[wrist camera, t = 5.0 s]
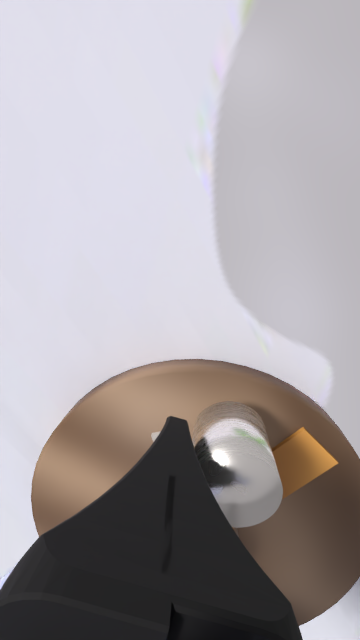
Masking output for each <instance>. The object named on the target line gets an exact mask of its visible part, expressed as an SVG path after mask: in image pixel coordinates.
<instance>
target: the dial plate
mask: <svg viewBox="0 0 360 640" xmlns="http://www.w3.org/2000/svg"><path fill="white" fill-rule="evenodd" d="M224 401H233V402H239V403H242V404H245V405H247V406H249V407H250V408H252V409H253V410H255V411H256V412H257V413H258V415H259V416H260V417H261V419H262V421H263V423H264V426H265V429H266V433H267V436H268V439H269V443H270V446H271V449H272V453H273V456H274V459H275V463H276V466H277V469H278V473H279V476H280V479H281V483H282V487H283V496H282V501H281V503H280V506H279V507H278V509H277V510H276V512H275V513H274V514H273V515H272V516H271V517H269V518H268V519H267V520H265V521H263V522H261V523H259V524H256V525H253V526H249V527H242V528H237V529H238V537H239V539H240V540H241V542H242V543H243V545H244V546H245V547H246V549H247V550H248V551H249V553H250V554H251V555H252V557H253V558H254V559H255V561H256V562H257V563H258V565H259V566H260V567H261V569H262V570H263V571H264V572H265V573H266V575H267V576H268V577H269V578H270V579H271V580H272V582H273V583H274V584H275V585H276V586H277V587H278V589H279V590H280V591H281V592H282V593H283V594H284V596H285V597H286V598H287V599H288V600H289V602H290V603H291V605H292V608H293V611H294V614H295V617H296V620H297V623H298V626H300V625H302V624H304V623H307V622H308V621H310V620H312V619H313V618H315V617H317V616H319V615H320V614H322V613H324V612H325V611H326V610H328V609H329V608H330V607H332V606H333V605H334V604H336V603H337V602H338V601H339V600H340V599H341V598H342V597H343V596H344V595H345V594H346V593H347V592H348V591H349V590H350V589H351V588H352V586H353V585H354V584H355V582H356V581H357V580H358V578H359V577H360V459H359V457H358V455H357V454H356V452H355V451H354V449H353V447H352V446H351V445H350V443H349V442H348V440H347V439H346V437H345V436H344V434H343V433H342V431H341V430H340V429H339V427H338V426H337V425H336V424H335V422H334V421H333V420H332V419H331V418H330V417H329V415H328V414H327V413H326V412H325V411H324V410H323V409H322V408H321V407H319V406H318V405H317V404H316V403H315V402H314V401H313V400H311V399H310V398H309V397H308V396H306V395H305V394H303V393H302V392H300V391H299V390H297V389H296V388H294V387H293V386H291V385H290V384H288V383H286V382H284V381H281V380H279V379H277V378H275V377H273V376H271V375H269V374H267V373H264V372H261V371H258V370H255V369H252V368H249V367H246V366H242V365H237V364H233V363H228V362H223V361H214V360H203V359H185V360H170V361H164V362H157V363H151V364H148V365H144V366H141V367H137V368H134V369H130V370H128V371H126V372H123V373H121V374H119V375H117V376H114V377H112V378H110V379H108V380H107V381H105V382H104V383H102V384H100V385H99V386H97V387H95V388H94V389H92V390H91V391H90V392H89V393H88V394H86V395H85V396H84V397H83V398H82V399H80V400H79V401H78V402H77V403H76V405H75V406H74V407H73V408H72V409H71V410H70V411H69V413H68V414H67V415H66V416H65V417H64V419H63V420H62V421H61V423H60V424H59V425H58V426H57V428H56V429H55V430H54V431H53V433H52V435H51V436H50V438H49V439H48V441H47V442H46V444H45V446H44V447H43V449H42V452H41V454H40V456H39V459H38V461H37V463H36V467H35V471H34V476H33V480H32V493H31V502H32V511H33V517H34V521H35V525H36V529H37V532H38V535H39V537H40V536H41V535H42V534H43V533H45V532H47V531H48V530H50V529H52V528H53V527H55V526H57V525H58V524H60V523H62V522H64V521H65V520H67V519H69V518H70V517H72V516H73V515H75V514H76V513H78V512H79V511H81V510H82V509H83V508H85V507H86V506H88V505H89V504H90V503H92V502H93V501H95V500H96V499H97V498H99V497H100V496H101V495H103V494H104V493H105V492H106V491H107V490H109V489H110V488H111V487H112V486H113V485H114V484H116V483H117V482H118V481H119V480H120V479H121V478H122V477H123V476H124V475H125V474H126V473H127V472H128V471H129V470H130V469H131V468H132V467H133V466H134V465H135V464H136V463H137V462H138V461H139V460H140V459H141V457H142V456H143V455H144V454H145V453H146V451H147V450H148V449H149V448H150V446H151V445H152V444H153V442H154V441H155V439H156V438H157V437H158V435H159V434H160V432H161V430H162V429H163V427H164V425H165V422H166V419H167V417H169V416H173V417H177V418H180V419H184V420H186V421H187V422H188V426H189V431H190V435H191V438H192V440H193V428H194V423H195V421H196V419H197V417H198V415H199V414H200V413H201V412H202V411H203V410H204V409H205V408H207V407H209V406H210V405H213V404H215V403H218V402H224Z"/></svg>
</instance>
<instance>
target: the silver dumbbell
mask: <svg viewBox="0 0 360 640" xmlns="http://www.w3.org/2000/svg"><path fill="white" fill-rule="evenodd" d="M192 442H193V445H194V448H195V452H196V454H197V457H198V460H199V463H200V465H201V468H202V471H203V473H204V475H205V478H206V480H207V482H208V484H209V487H210V489H211V491H212V493H213V495H214V497H215V499H216V501H217V503H218V504H219V506H220V508H221V510H222V512H223V513H224V515H225V517H226V519H227V520H228V522H229V523H230V525H231V526H232V528H233V530H234V531H235V533H236V534H237V536H238V529H237V528H242V527H249V526H253V525H256V524H259V523H261V522H263V521H265V520H267V519H268V518H269V517H271V516H272V515H273V514H274V513H275V512H276V510H277V509H278V507H279V506H280V503H281V501H282V496H283V487H282V483H281V479H280V476H279V473H278V469H277V466H276V463H275V459H274V456H273V453H272V449H271V446H270V443H269V439H268V436H267V433H266V429H265V426H264V423H263V421H262V419H261V417H260V416H259V415H258V413H257V412H256V411H255V410H253V409H252V408H250V407H249V406H247V405H245V404H242V403H239V402H233V401H224V402H218V403H215V404H213V405H210V406H209V407H207V408H205V409H204V410H203V411H202V412H201V413H200V414H199V415H198V417H197V419H196V421H195V423H194V428H193V440H192Z"/></svg>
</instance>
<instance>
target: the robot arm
mask: <svg viewBox="0 0 360 640" xmlns="http://www.w3.org/2000/svg"><path fill="white" fill-rule="evenodd" d="M0 640H303V639H302V636H301V633H300V629H299V626H298V623H297V620H296V617H295V614H294V611H293V608H292V605H291V603H290V602H289V600H288V599H287V598H286V597H285V596H284V594H283V593H282V592H281V591H280V590H279V589H278V587H277V586H276V585H275V584H274V583H273V582H272V580H271V579H270V578H269V577H268V576H267V575H266V573H265V572H264V571H263V570H262V569H261V567H260V566H259V565H258V563H257V562H256V561H255V559H254V558H253V557H252V555H251V554H250V553H249V551H248V550H247V549H246V547H245V546H244V545H243V543H242V542H241V540H240V539H239V537H238V536H237V534H236V533H235V531H234V530H233V528H232V526H231V525H230V523H229V522H228V520H227V519H226V517H225V515H224V513H223V512H222V510H221V508H220V506H219V504H218V503H217V501H216V499H215V497H214V495H213V493H212V491H211V489H210V487H209V484H208V482H207V480H206V478H205V475H204V473H203V471H202V468H201V465H200V463H199V460H198V457H197V454H196V452H195V448H194V445H193V442H192V438H191V435H190V431H189V426H188V422H187V421H186V420H184V419H180V418H177V417H173V416H169V417H167V419H166V422H165V425H164V427H163V429H162V430H161V432H160V434H159V435H158V437H157V438H156V439H155V441H154V442H153V444H152V445H151V446H150V448H149V449H148V450H147V451H146V453H145V454H144V455H143V456H142V457H141V459H140V460H139V461H138V462H137V463H136V464H135V465H134V466H133V467H132V468H131V469H130V470H129V471H128V472H127V473H126V474H125V475H124V476H123V477H122V478H121V479H120V480H119V481H118V482H117V483H116V484H114V485H113V486H112V487H111V488H110V489H109V490H107V491H106V492H105V493H104V494H103V495H101V496H100V497H99V498H97V499H96V500H95V501H93V502H92V503H90V504H89V505H88V506H86V507H85V508H83V509H82V510H81V511H79V512H78V513H76V514H75V515H73V516H72V517H70V518H69V519H67V520H65V521H64V522H62V523H60V524H58V525H57V526H55V527H53V528H52V529H50V530H48V531H47V532H45V533H43V534H42V535H41V536H40V537H39V538H38V539H37V540H36V541H35V543H34V544H33V545H32V546H31V547H30V549H29V550H28V551H27V552H26V553H25V555H24V556H23V557H22V558H21V560H20V561H19V562H18V564H17V565H16V566H15V568H14V569H13V570H12V571H11V572H9V573H8V574H7V575H6V576H4V577H3V578H2V579H1V580H0Z"/></svg>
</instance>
